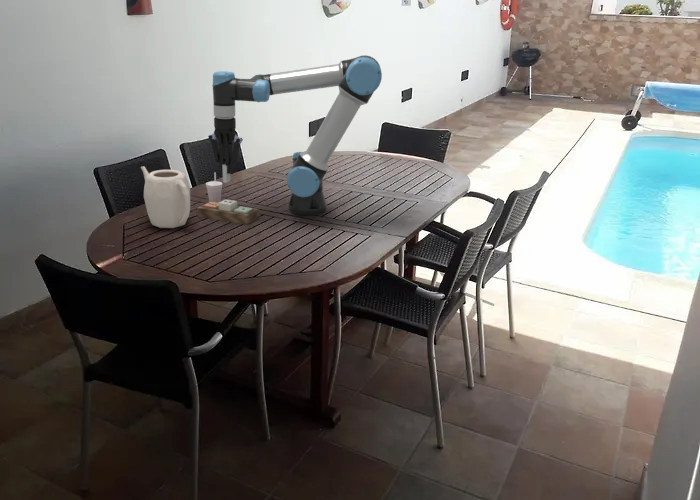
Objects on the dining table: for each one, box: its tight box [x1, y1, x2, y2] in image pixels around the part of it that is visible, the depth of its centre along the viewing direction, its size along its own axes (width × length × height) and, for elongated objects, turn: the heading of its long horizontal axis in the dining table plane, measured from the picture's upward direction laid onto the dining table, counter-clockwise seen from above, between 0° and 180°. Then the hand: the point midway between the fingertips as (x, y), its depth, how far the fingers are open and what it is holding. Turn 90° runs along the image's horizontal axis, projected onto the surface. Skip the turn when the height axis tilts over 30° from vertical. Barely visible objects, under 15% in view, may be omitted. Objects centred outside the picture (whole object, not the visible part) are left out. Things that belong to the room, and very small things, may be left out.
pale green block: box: [234, 206, 254, 214], centre depth 226 cm, size 5×5×4 cm
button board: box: [196, 201, 260, 226], centre depth 228 cm, size 21×9×4 cm, turn 70°
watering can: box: [140, 166, 191, 229], centre depth 216 cm, size 16×27×19 cm, turn 52°
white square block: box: [218, 198, 238, 212], centre depth 227 cm, size 5×5×4 cm
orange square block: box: [203, 201, 219, 209], centre depth 230 cm, size 5×5×4 cm
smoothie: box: [205, 172, 224, 203], centre depth 237 cm, size 6×6×14 cm
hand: (226, 181), depth 223 cm, fingers closed
